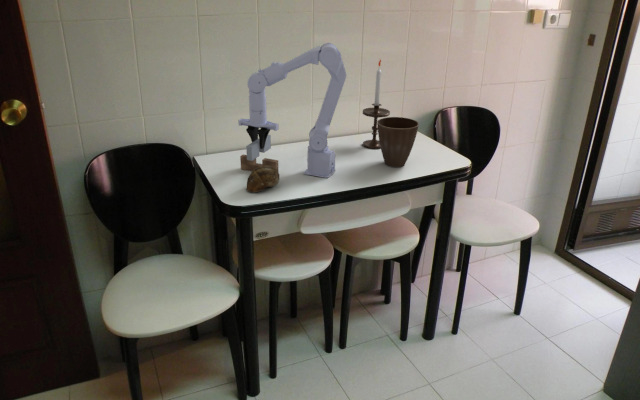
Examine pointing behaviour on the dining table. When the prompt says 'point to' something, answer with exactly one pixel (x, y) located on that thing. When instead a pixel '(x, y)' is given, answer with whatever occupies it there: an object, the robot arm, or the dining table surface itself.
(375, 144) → the candlestick
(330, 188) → the dining table surface
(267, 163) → the walnut slotted board
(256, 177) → the seashell
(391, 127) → the plant pot
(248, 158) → the grey slotted slat
